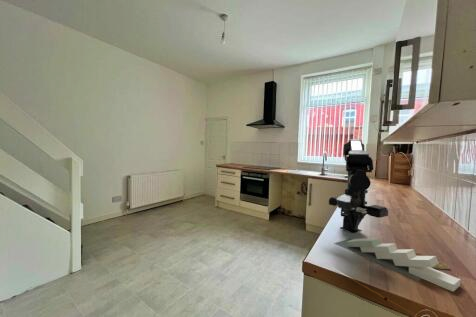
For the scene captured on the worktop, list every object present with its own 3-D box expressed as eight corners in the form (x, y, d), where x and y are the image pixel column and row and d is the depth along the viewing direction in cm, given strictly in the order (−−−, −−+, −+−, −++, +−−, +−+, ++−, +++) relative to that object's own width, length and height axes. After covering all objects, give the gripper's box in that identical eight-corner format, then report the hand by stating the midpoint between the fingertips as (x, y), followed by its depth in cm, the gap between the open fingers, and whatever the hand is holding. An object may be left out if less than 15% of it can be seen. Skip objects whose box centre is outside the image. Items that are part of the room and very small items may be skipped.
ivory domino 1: (367, 243, 72) (395, 243, 65) (369, 249, 72) (397, 249, 65) (359, 246, 70) (387, 246, 63) (361, 252, 69) (389, 252, 62)
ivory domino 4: (416, 262, 60) (460, 279, 52) (416, 268, 60) (459, 286, 52) (409, 266, 58) (453, 284, 50) (408, 272, 58) (453, 291, 50)
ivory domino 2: (382, 249, 68) (413, 249, 61) (384, 255, 68) (416, 255, 60) (374, 252, 66) (406, 252, 59) (377, 258, 65) (408, 259, 58)
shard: (401, 252, 72) (401, 247, 72) (424, 254, 71) (425, 249, 71) (425, 270, 61) (425, 264, 61) (453, 273, 60) (454, 267, 60)
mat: (350, 239, 81) (350, 238, 81) (433, 272, 59) (433, 271, 59) (334, 244, 76) (334, 243, 76) (418, 282, 54) (418, 281, 54)
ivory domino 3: (400, 255, 64) (435, 256, 57) (402, 261, 63) (439, 263, 56) (392, 259, 61) (428, 260, 54) (395, 265, 61) (431, 267, 54)
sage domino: (354, 239, 76) (379, 238, 69) (356, 244, 76) (381, 243, 68) (346, 241, 74) (370, 240, 66) (348, 246, 73) (372, 246, 66)
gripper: (320, 184, 78) (318, 224, 78) (371, 193, 62) (369, 243, 62) (338, 182, 83) (336, 220, 84) (390, 191, 67) (387, 237, 68)
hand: (354, 229), depth 74 cm, fingers closed
